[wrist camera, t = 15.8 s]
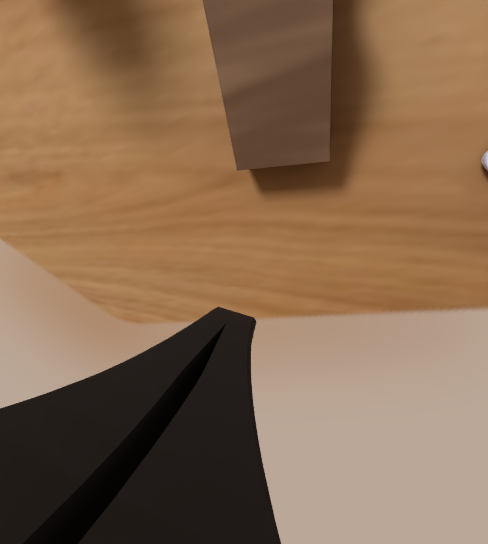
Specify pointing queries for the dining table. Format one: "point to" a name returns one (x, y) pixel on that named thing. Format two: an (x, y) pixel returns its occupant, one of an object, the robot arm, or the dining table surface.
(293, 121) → the walnut domino
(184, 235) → the dining table surface
